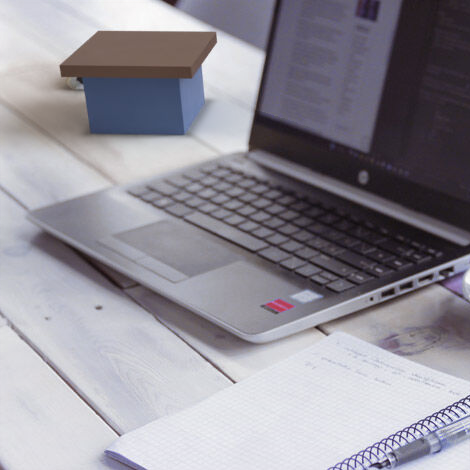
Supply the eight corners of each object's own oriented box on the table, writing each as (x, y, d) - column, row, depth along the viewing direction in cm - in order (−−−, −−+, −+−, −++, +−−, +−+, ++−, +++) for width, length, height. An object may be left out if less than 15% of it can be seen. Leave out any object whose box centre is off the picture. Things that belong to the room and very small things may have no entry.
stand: (71, 139, 118) (59, 65, 114) (107, 98, 131) (98, 30, 127) (198, 141, 117) (190, 66, 113) (221, 99, 130) (216, 31, 126)
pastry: (79, 71, 142) (75, 46, 140) (125, 70, 142) (122, 45, 141) (66, 92, 134) (62, 66, 132) (114, 91, 134) (111, 65, 132)
